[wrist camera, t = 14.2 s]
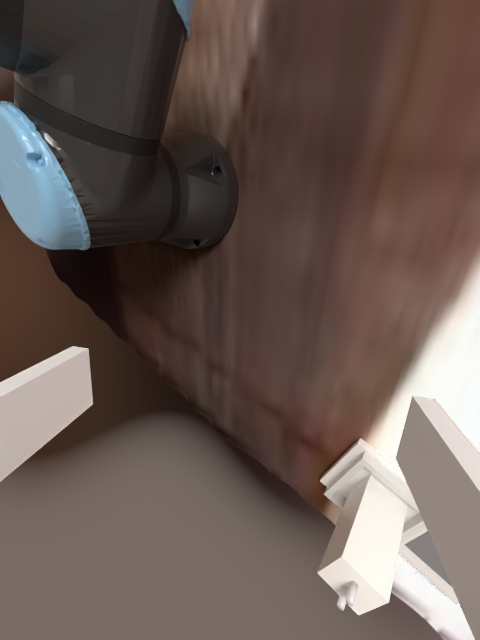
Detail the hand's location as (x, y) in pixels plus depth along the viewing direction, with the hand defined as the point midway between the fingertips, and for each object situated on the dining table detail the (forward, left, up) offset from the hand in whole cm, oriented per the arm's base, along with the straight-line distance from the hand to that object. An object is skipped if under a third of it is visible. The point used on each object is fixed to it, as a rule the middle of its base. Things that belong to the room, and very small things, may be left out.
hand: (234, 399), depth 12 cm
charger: (+16, -23, -25) cm, 38 cm away
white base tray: (+20, -24, -27) cm, 40 cm away
